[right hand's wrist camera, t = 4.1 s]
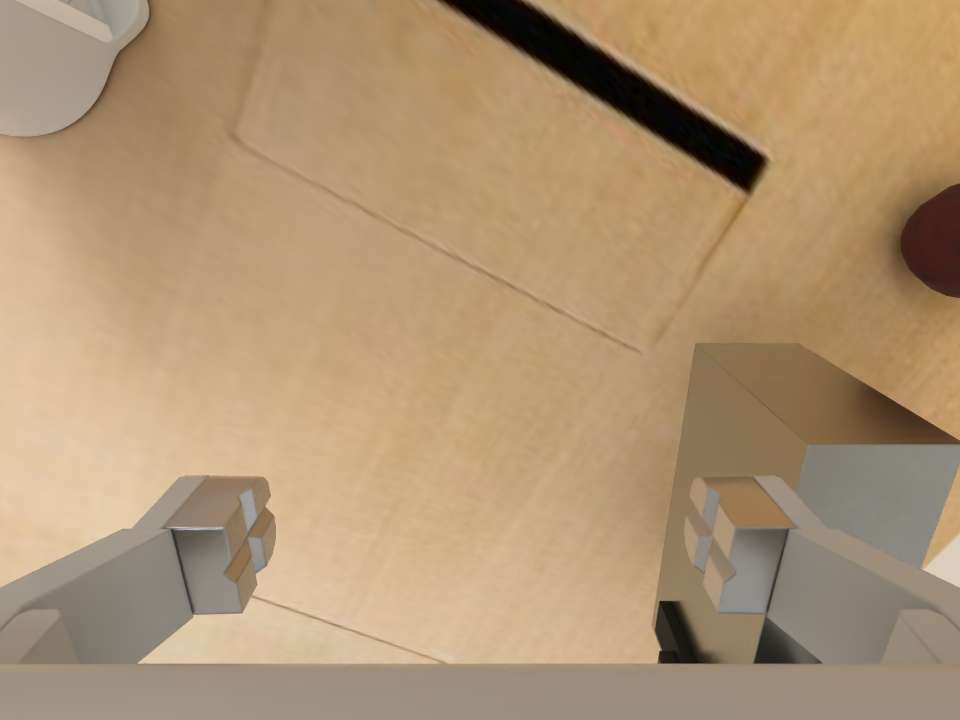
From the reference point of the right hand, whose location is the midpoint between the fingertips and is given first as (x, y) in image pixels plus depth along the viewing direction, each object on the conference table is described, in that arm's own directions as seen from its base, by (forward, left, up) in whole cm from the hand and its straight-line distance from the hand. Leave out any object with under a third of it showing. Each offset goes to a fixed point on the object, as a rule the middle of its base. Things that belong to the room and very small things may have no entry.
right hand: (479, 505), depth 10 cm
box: (+16, +16, -22) cm, 32 cm away
